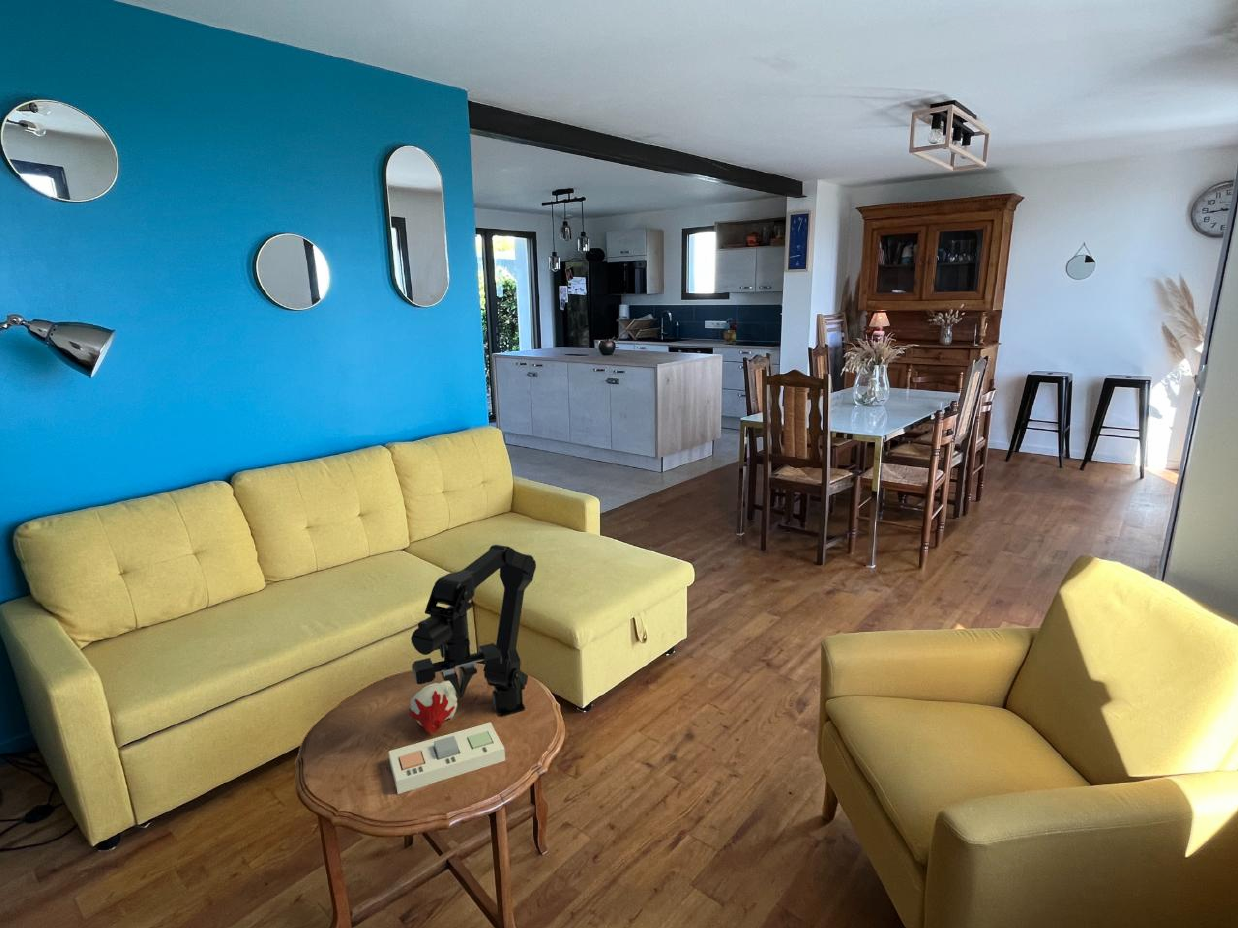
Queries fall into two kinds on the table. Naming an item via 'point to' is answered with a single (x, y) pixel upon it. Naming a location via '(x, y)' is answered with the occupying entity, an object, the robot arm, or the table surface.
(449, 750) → the slate tile
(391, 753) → the button board
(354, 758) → the table surface
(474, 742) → the sage tile
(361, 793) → the table surface
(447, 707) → the red irregular piece
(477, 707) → the table surface
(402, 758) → the terracotta tile
